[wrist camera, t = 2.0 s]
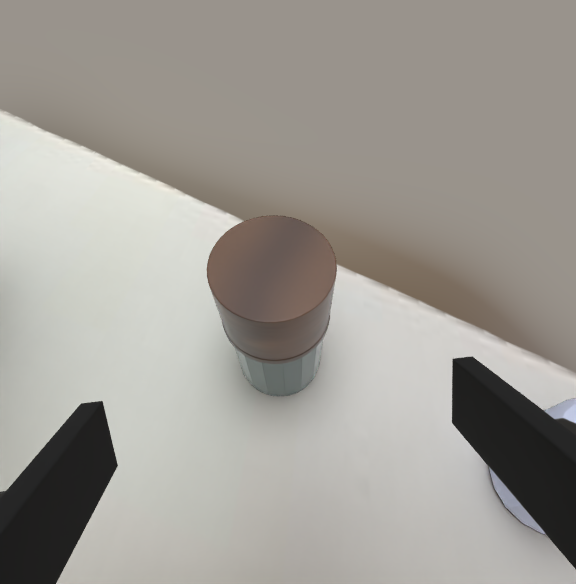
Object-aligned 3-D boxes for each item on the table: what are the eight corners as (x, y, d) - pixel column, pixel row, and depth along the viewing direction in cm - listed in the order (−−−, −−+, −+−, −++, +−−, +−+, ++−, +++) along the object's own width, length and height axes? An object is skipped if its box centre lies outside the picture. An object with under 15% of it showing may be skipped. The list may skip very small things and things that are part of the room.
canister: (226, 375, 41) (208, 334, 32) (264, 311, 44) (256, 260, 36) (298, 410, 39) (299, 377, 30) (331, 340, 42) (340, 293, 34)
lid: (206, 344, 33) (179, 290, 26) (256, 265, 37) (246, 199, 30) (301, 389, 31) (303, 345, 24) (343, 301, 35) (356, 239, 28)
